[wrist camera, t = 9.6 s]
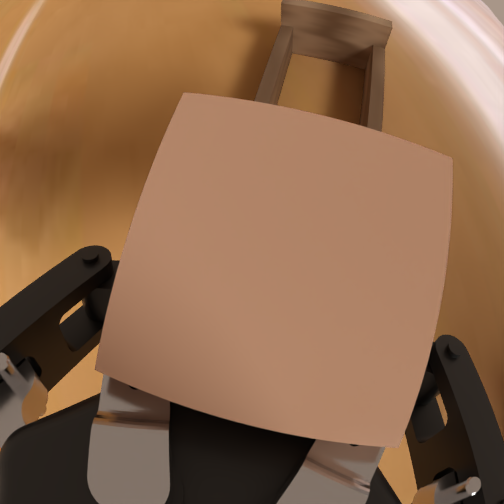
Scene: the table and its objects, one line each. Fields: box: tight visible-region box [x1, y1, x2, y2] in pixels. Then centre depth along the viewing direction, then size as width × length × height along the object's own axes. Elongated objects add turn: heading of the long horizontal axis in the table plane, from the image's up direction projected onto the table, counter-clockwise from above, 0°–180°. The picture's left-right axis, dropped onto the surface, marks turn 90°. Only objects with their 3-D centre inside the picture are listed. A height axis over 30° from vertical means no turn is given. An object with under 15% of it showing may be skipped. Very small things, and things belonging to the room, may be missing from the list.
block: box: [95, 92, 453, 448], centre depth 11 cm, size 5×5×14 cm
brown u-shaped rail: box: [255, 0, 392, 132], centre depth 23 cm, size 10×17×7 cm, turn 165°
